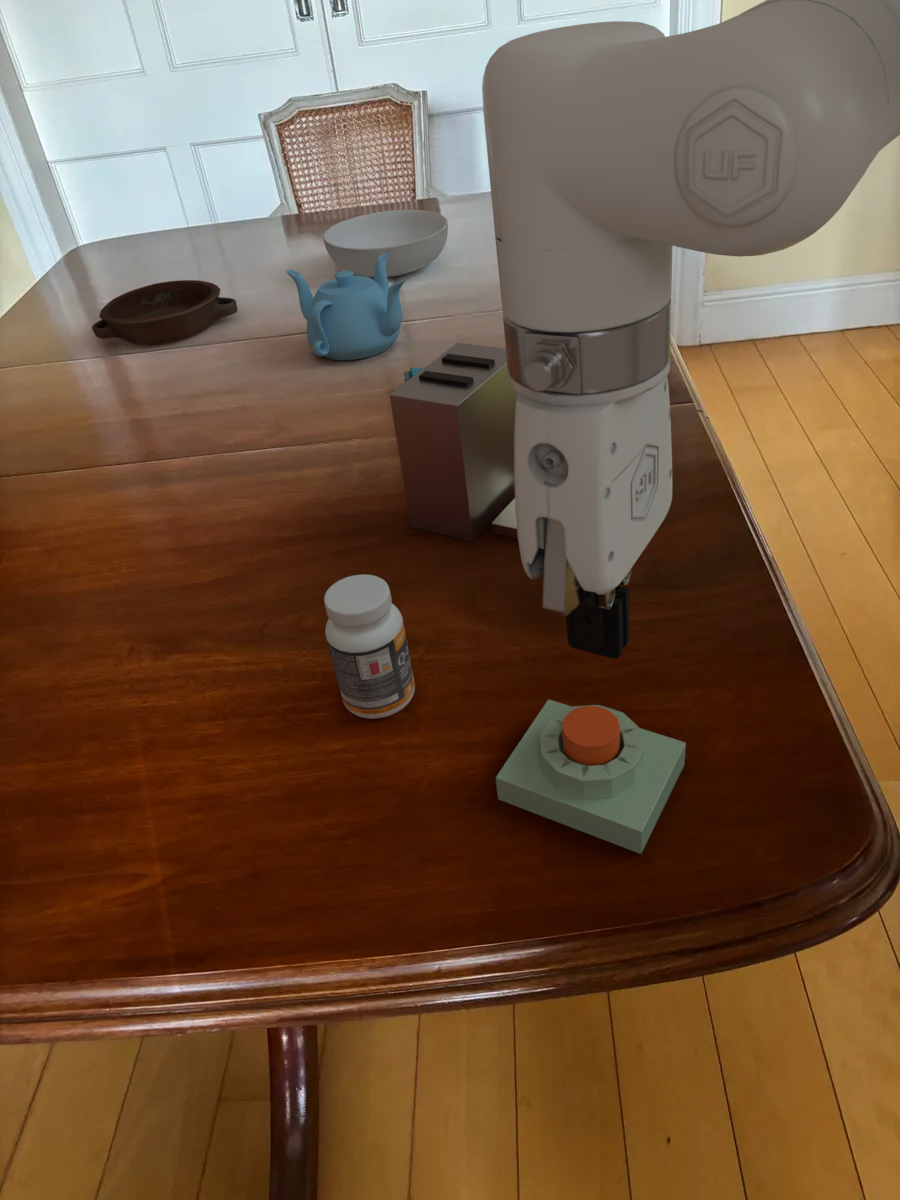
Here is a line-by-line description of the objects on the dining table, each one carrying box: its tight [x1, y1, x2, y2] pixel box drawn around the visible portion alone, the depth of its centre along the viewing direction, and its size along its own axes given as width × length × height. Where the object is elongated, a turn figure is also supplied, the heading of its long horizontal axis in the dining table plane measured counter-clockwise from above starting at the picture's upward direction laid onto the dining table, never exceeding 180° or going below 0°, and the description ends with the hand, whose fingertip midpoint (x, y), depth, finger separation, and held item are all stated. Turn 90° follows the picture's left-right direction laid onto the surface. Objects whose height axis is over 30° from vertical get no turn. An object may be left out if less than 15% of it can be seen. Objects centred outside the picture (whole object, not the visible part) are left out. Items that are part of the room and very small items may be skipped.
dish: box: [91, 279, 238, 345], centre depth 138 cm, size 17×22×5 cm
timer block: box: [495, 698, 687, 855], centre depth 59 cm, size 10×8×4 cm
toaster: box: [389, 342, 518, 543], centre depth 85 cm, size 7×12×14 cm, turn 150°
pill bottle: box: [323, 574, 416, 720], centre depth 66 cm, size 6×6×10 cm
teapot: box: [285, 253, 406, 361], centre depth 123 cm, size 15×15×10 cm
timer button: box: [562, 705, 620, 765], centre depth 57 cm, size 4×4×2 cm
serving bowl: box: [322, 209, 449, 279], centre depth 150 cm, size 21×21×7 cm
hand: (598, 644), depth 52 cm, fingers closed
